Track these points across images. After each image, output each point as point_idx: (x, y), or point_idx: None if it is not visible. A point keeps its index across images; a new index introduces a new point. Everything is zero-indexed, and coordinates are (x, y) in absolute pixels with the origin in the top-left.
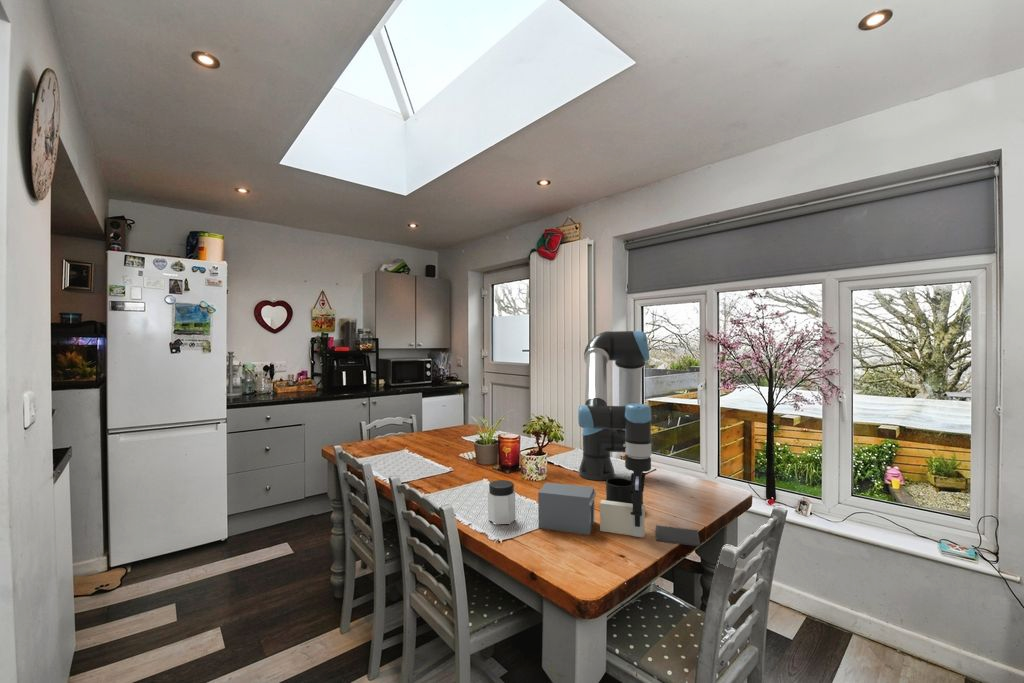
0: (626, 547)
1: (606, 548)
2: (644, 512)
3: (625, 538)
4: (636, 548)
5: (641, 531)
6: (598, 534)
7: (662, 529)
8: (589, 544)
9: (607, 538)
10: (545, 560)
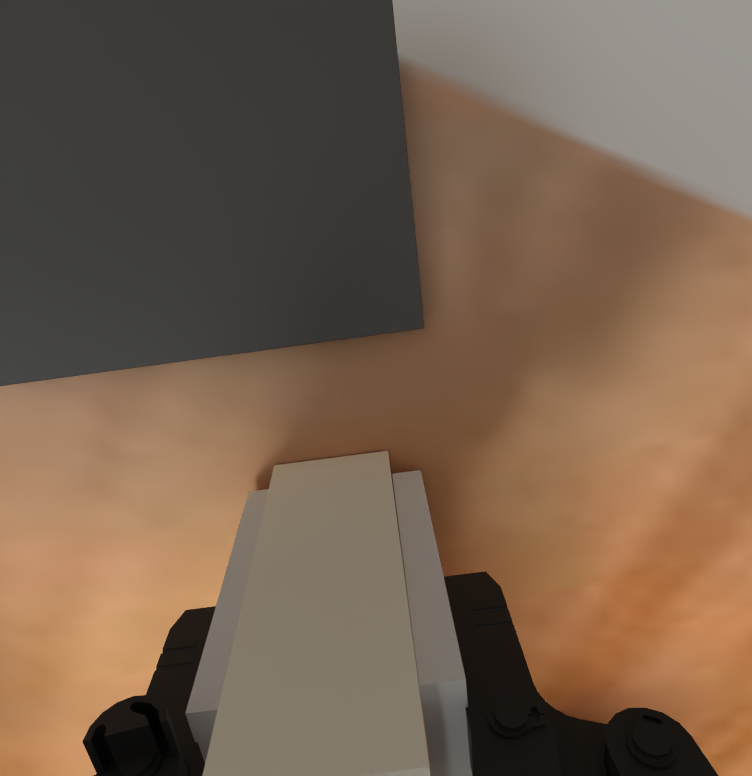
0: (674, 548)
1: (733, 669)
2: (392, 689)
3: None
4: (673, 470)
5: (428, 515)
6: None
7: (85, 295)
8: None
9: None
10: None
